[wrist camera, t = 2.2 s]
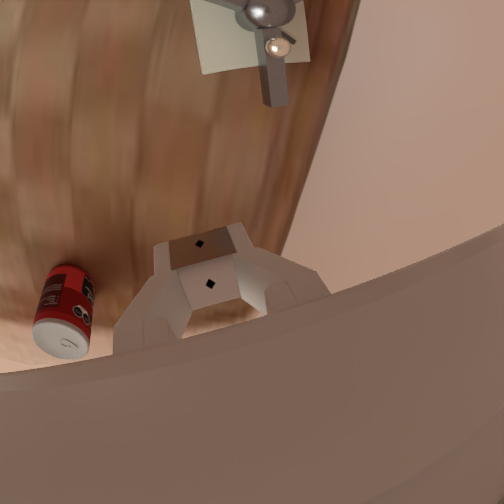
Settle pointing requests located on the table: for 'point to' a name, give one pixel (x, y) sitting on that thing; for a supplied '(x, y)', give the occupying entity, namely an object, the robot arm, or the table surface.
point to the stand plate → (240, 38)
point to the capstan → (267, 41)
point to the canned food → (65, 313)
